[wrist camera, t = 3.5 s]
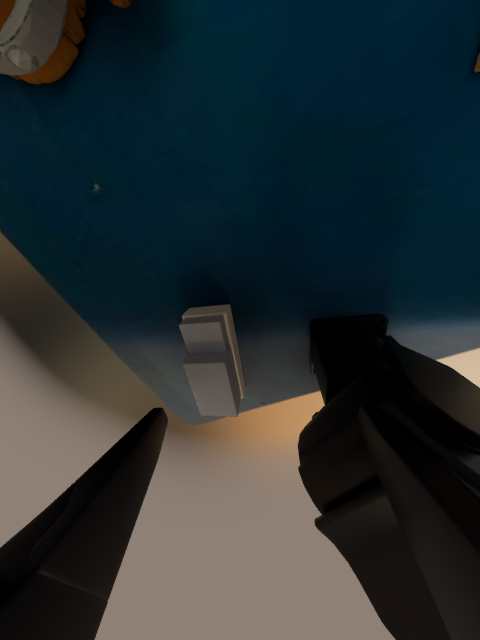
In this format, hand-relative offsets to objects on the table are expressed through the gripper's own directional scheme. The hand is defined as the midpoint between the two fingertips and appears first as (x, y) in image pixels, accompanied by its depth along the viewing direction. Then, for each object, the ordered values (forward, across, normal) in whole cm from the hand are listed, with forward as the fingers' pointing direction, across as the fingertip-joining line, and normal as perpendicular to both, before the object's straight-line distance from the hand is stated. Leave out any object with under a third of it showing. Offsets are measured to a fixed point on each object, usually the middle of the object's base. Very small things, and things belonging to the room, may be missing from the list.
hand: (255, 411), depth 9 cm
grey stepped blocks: (+12, +5, +5) cm, 13 cm away
